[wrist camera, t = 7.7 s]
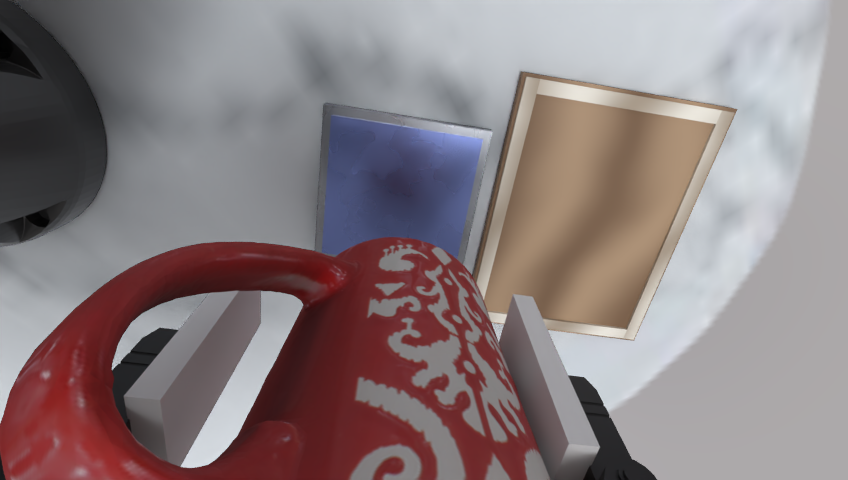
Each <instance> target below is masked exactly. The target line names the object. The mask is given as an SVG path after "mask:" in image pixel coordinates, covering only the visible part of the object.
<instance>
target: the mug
mask: <svg viewBox="0 0 848 480" xmlns="http://www.w3.org/2000/svg"><path fill="white" fill-rule="evenodd" d="M228 291H273V292H281V293H286V294H291V295H294V296H295V297H297V298H298V299H300V300H301V301H302V303H303V308H302V310H301V312H300V314H299V316H298V318H297V320H296V322H295V324H294V326H293V327H292V329H291V331H290V333H289V335H288V337H287V339H286V341H285V343H284V345H283V347H282V349H281V351H280V353H279V355H278V357H277V359H276V361H275V363H274V365H273V367H272V369H271V370H270V372H269V374H268V375H267V377H266V379H265V382H264V384H263V386H262V388H261V390H260V392H259V394H258V396H257V398H256V401H255V403H254V405H253V407H252V408H251V410H250V412H249V414H248V416H247V418H246V420H245V422H244V424H243V426H242V428H241V430H240V432H239V434H238V436H237V437H236V438H235V439H234V440H233V442H232V443H231V444H230V446H229V447H228V448H227V449H226V450H225V451H224V452H223V453H222V454H221V455H220V456H219V457H218V458H217V459H216V460H215V461H213V462H212V463H210V464H209V465H206V466H202V467H197V468H183V467H179V466H177V465H174V464H171V463H169V462H167V461H165V460H163V459H161V458H159V457H157V456H156V455H155V454H154V453H152V452H151V451H150V450H149V449H147V448H146V447H145V446H143V445H142V444H141V443H140V442H138V441H137V440H136V439H135V437H134V436H133V435H132V433H131V432H130V431H129V429H128V428H127V426H126V424H125V422H124V421H123V419H122V417H121V415H120V413H119V411H118V409H117V407H116V405H115V400H114V396H113V391H112V388H113V382H114V377H113V373H112V362H113V359H114V355H115V352H116V349H117V345H118V343H119V341H120V339H121V337H122V335H123V334H124V332H125V331H126V329H127V328H128V326H129V325H130V323H131V322H132V321H133V320H135V319H136V318H137V317H138V316H139V315H140V314H142V313H143V312H145V311H147V310H149V309H151V308H153V307H155V306H157V305H159V304H162V303H164V302H168V301H171V300H173V299H176V298H181V297H186V296H191V295H197V294H202V293H214V292H228ZM0 454H1V460H2V466H3V471H4V475H5V479H6V480H551V479H550V477H549V474H548V472H547V469H546V466H545V464H544V461H543V459H542V456H541V454H540V451H539V448H538V445H537V443H536V440H535V437H534V435H533V432H532V430H531V427H530V425H529V422H528V420H527V417H526V415H525V412H524V409H523V407H522V404H521V401H520V398H519V394H518V391H517V387H516V385H515V383H514V380H513V378H512V377H511V374H510V372H509V369H508V366H507V364H506V361H505V358H504V356H503V353H502V350H501V347H500V345H499V342H498V339H497V337H496V334H495V332H494V329H493V326H492V323H491V320H490V318H489V315H488V312H487V308H486V305H485V303H484V300H483V297H482V294H481V292H480V290H479V288H478V286H477V284H476V282H475V280H474V278H473V277H472V275H471V273H470V272H469V271H468V270H467V269H466V268H465V266H464V265H463V264H462V263H461V262H460V261H458V260H457V259H456V258H455V257H454V256H452V255H451V254H449V253H448V252H446V251H445V250H443V249H441V248H439V247H436V246H435V245H433V244H430V243H427V242H423V241H420V240H417V239H412V238H401V237H383V238H378V239H372V240H369V241H365V242H362V243H359V244H357V245H355V246H352V247H350V248H348V249H346V250H344V251H343V252H341V253H340V254H338V255H337V256H336V257H332V256H328V255H325V254H322V253H319V252H316V251H312V250H306V249H301V248H295V247H290V246H283V245H275V244H266V243H255V242H214V243H201V244H196V245H191V246H186V247H181V248H178V249H174V250H171V251H168V252H165V253H162V254H160V255H157V256H154V257H152V258H150V259H147V260H145V261H143V262H140V263H138V264H137V265H135V266H133V267H131V268H129V269H127V270H126V271H124V272H123V273H121V274H119V275H118V276H116V277H115V278H113V279H112V280H110V281H109V282H107V283H106V284H105V285H103V286H102V287H101V288H99V289H98V290H97V291H96V292H94V293H93V294H92V295H91V296H90V297H88V298H87V299H86V300H85V301H84V302H82V303H81V304H80V305H79V306H78V307H76V308H75V309H74V310H73V311H72V312H71V313H70V314H69V315H68V316H67V317H66V318H65V319H64V320H63V321H62V322H61V323H60V324H59V325H58V326H57V328H56V329H55V330H54V331H53V332H52V333H51V334H50V335H49V336H48V337H47V338H46V339H45V340H44V341H43V342H42V343H41V344H40V345H39V346H38V347H37V348H36V349H35V351H34V352H33V353H32V355H31V356H30V358H29V359H28V361H27V362H26V364H25V365H24V367H23V368H22V370H21V371H20V373H19V375H18V377H17V379H16V381H15V383H14V385H13V387H12V389H11V391H10V394H9V397H8V401H7V404H6V408H5V411H4V415H3V418H2V421H1V423H0Z"/></svg>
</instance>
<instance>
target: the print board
mask: <svg viewBox="0 0 848 480" xmlns="http://www.w3.org/2000/svg"><path fill="white" fill-rule="evenodd" d="M736 111H737V109H733V108H728V107H723V106H717V105H711V104H705V103H700V102H694V101H688V100H682V99H677V98H671V97H665V96H659V95H654V94H648V93H642V92H636V91H631V90H625V89H619V88H613V87H607V86H602V85H596V84H590V83H584V82H579V81H573V80H567V79H561V78H556V77H550V76H544V75H538V74H533V73H527V72H521V74H520V78H519V82H518V86H517V91H516V95H515V99H514V103H513V107H512V112H511V116H510V120H509V124H508V129H507V133H506V137H505V141H504V146H503V150H502V154H501V158H500V162H499V167H498V171H497V175H496V179H495V184H494V188H493V192H492V196H491V200H490V205H489V209H488V213H487V217H486V222H485V226H484V230H483V234H482V238H481V243H480V247H479V251H478V255H477V260H476V264H475V268H474V272H473V278H474V280H475V282H476V284H477V286H478V288H479V290H480V292H481V294H482V297H483V300H484V303H485V305H486V308H487V312H488V315H489V318H490V320H491V323H498V324H504V323H505V320H506V316H507V313H508V309H509V306H510V303H511V299H512V296H513V294H517V295H524V296H532V297H533V298H534V301H535V303H536V305H537V307H538V310H539V312H540V314H541V316H542V319H543V321H544V323H545V325H546V327H547V330H554V331H562V332H569V333H577V334H585V335H593V336H601V337H609V338H617V339H625V340H633V341H634V339H635V337H636V335H637V333H638V330H639V328H640V326H641V324H642V321H643V319H644V317H645V315H646V312H647V310H648V308H649V306H650V303H651V301H652V299H653V297H654V294H655V292H656V290H657V288H658V286H659V283H660V281H661V279H662V277H663V274H664V272H665V270H666V268H667V265H668V263H669V261H670V259H671V256H672V254H673V252H674V250H675V247H676V245H677V243H678V241H679V239H680V236H681V234H682V232H683V230H684V227H685V225H686V223H687V221H688V218H689V216H690V214H691V212H692V209H693V207H694V205H695V203H696V200H697V198H698V196H699V194H700V192H701V189H702V187H703V185H704V183H705V180H706V178H707V176H708V174H709V171H710V169H711V167H712V165H713V162H714V160H715V158H716V156H717V153H718V151H719V149H720V147H721V145H722V142H723V140H724V138H725V136H726V133H727V131H728V129H729V127H730V124H731V122H732V120H733V118H734V115H735V113H736Z"/></svg>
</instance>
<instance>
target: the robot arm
mask: <svg viewBox="0 0 848 480" xmlns="http://www.w3.org/2000/svg"><path fill="white" fill-rule="evenodd" d="M105 165H106V141H105V134H104V128H103V124H102V120H101V117H100V114H99V111H98V108H97V105H96V103H95V100H94V98H93V96H92V94H91V91H90V89H89V87H88V85H87V84H86V82H85V80H84V78H83V77H82V75H81V73H80V72H79V70H78V69H77V67H76V66H75V64H74V63H73V61H72V60H71V59H70V57H69V56H68V55H67V53H66V52H65V51H64V50H63V48H62V47H61V46H60V45H59V44H58V43H57V42H56V40H55V39H54V38H53V37H52V36H51V35H50V34H49V33H48V32H47V31H46V30H45V29H44V28H43V27H42V26H41V25H40V24H38V23H37V22H36V21H35V20H34V19H33V18H32V17H30V16H29V15H28V14H27V13H26V12H24V11H23V10H22V9H20V8H19V7H18V6H16V5H15V4H13V3H12V2H10V1H9V0H0V247H4V246H10V245H16V244H20V243H23V242H27V241H30V240H33V239H36V238H38V237H40V236H43V235H45V234H47V233H49V232H51V231H53V230H55V229H56V228H58V227H60V226H62V225H64V224H66V223H68V222H70V221H71V220H73V219H74V218H76V217H77V216H79V215H80V214H81V213H82V212H83V211H84V210H85V209H86V208H87V207H88V206H89V205H90V203H91V202H92V201H93V199H94V198H95V196H96V194H97V192H98V190H99V188H100V186H101V183H102V180H103V176H104V172H105ZM260 324H261V291H228V292H214V293H209V294H208V295H207V297H206V298H205V299H204V300H203V301H202V303H201V304H200V305H199V306H198V307H197V309H196V310H195V311H194V312H193V313H192V315H191V316H190V317H189V318H188V319H187V321H186V322H185V323H184V324H183V326H182V327H181V328H180V329H179V330H173V329H165V328H159V329H157V330H156V331H154V332H152V333H150V334H149V335H147V336H145V337H143V338H142V339H141V340H140V341H139V342H138V343H137V344H136V346H135V347H134V348H133V349H132V350H131V352H130V353H128V354H127V355H126V356H125V357H124V358H123V359H122V361H121V363H120V364H118V365H117V366H116V367H115V368H114V369H113V370H112V373H113V377H114V382H113V388H112V391H113V396H114V400H115V405H116V407H117V409H118V411H119V413H120V415H121V417H122V419H123V421H124V422H125V424H126V426H127V428H128V429H129V431H130V432H131V433H132V435H133V436H134V437H135V439H136V440H137V441H138V442H140V443H141V444H142V445H143V446H145V447H146V448H147V449H149V450H150V451H151V452H152V453H154V454H155V455H156V456H157V457H159V458H161V459H163V460H165V461H167V462H169V463H171V464H174V465H177V466H179V467H180V466H181V464H182V463H183V461H184V459H185V457H186V455H187V454H188V452H189V450H190V448H191V447H192V445H193V443H194V441H195V439H196V438H197V436H198V434H199V432H200V431H201V429H202V427H203V425H204V423H205V422H206V420H207V418H208V416H209V414H210V413H211V411H212V409H213V407H214V406H215V404H216V402H217V400H218V398H219V397H220V395H221V393H222V391H223V390H224V388H225V386H226V384H227V382H228V381H229V379H230V377H231V375H232V373H233V372H234V370H235V368H236V366H237V365H238V363H239V361H240V359H241V357H242V356H243V354H244V352H245V350H246V349H247V347H248V345H249V343H250V341H251V340H252V338H253V336H254V334H255V332H256V331H257V329H258V327H259V325H260ZM499 345H500V347H501V350H502V353H503V356H504V358H505V361H506V364H507V366H508V369H509V372H510V374H511V377H512V378H513V380H514V383H515V385H516V387H517V391H518V394H519V398H520V401H521V404H522V407H523V409H524V412H525V415H526V417H527V420H528V422H529V425H530V427H531V430H532V432H533V435H534V437H535V440H536V443H537V445H538V448H539V451H540V454H541V456H542V459H543V461H544V464H545V466H546V469H547V472H548V474H549V477H550V479H551V480H657V479H656V478H655V476H654V475H653V474H652V473H651V472H650V471H649V470H648V469H647V468H646V467H645V466H643V465H641V464H640V463H638V462H637V461H635V460H632V459H631V456H630V455H629V453H628V451H627V449H626V447H625V445H624V443H623V441H622V439H621V437H620V435H619V433H618V431H617V429H616V427H615V425H614V423H613V421H612V419H611V418H609V413H608V411H607V410H606V408H605V406H603V402H602V400H601V398H600V396H599V394H598V392H597V390H596V389H595V388H594V387H593V386H592V385H591V384H590V383H589V382H588V381H587V380H586V379H585V378H584V377H577V376H569V375H568V374H567V372H566V370H565V368H564V365H563V363H562V361H561V359H560V357H559V354H558V352H557V350H556V348H555V345H554V343H553V341H552V339H551V336H550V334H549V332H548V330H547V327H546V325H545V323H544V321H543V319H542V316H541V314H540V312H539V310H538V307H537V305H536V303H535V301H534V298H533V297H532V296H524V295H517V294H513V296H512V299H511V303H510V306H509V309H508V313H507V316H506V320H505V323H504V327H503V330H502V334H501V337H500V341H499ZM0 480H6V479H5V475H4V471H3V466H2V460H1V454H0Z"/></svg>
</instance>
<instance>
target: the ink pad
mask: <svg viewBox="0 0 848 480" xmlns="http://www.w3.org/2000/svg"><path fill="white" fill-rule="evenodd" d="M491 136H492V130H491V129H485V128H479V127H472V126H466V125H460V124H454V123H448V122H442V121H435V120H429V119H423V118H417V117H411V116H405V115H398V114H392V113H386V112H380V111H374V110H367V109H361V108H355V107H349V106H343V105H337V104H330V103H325V104H324V106H323V123H322V139H321V156H320V172H319V189H318V206H317V222H316V239H315V251H316V252H319V253H322V254H325V255H328V256H332V257H336V256H337V255H338V254H340V253H341V252H343V251H344V250H346V249H348V248H350V247H352V246H355V245H357V244H359V243H362V242H365V241H369V240H372V239H378V238H383V237H401V238H412V239H417V240H420V241H423V242H427V243H430V244H433V245H435V246H436V247H439V248H441V249H443V250H445V251H446V252H448V253H449V254H451V255H452V256H454V257H455V258H456V259H457V260H458V261H460V262H461V263H462V264H463V262H464V257H465V253H466V248H467V244H468V239H469V235H470V231H471V226H472V222H473V217H474V213H475V208H476V204H477V199H478V195H479V190H480V186H481V181H482V177H483V172H484V168H485V163H486V159H487V154H488V150H489V145H490V141H491Z"/></svg>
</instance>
